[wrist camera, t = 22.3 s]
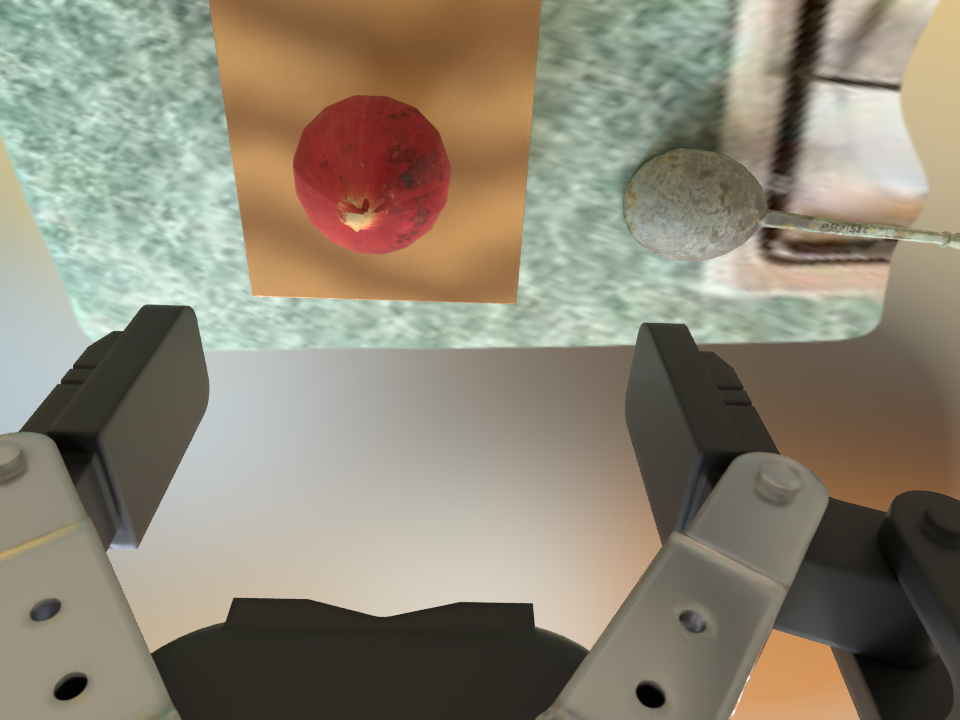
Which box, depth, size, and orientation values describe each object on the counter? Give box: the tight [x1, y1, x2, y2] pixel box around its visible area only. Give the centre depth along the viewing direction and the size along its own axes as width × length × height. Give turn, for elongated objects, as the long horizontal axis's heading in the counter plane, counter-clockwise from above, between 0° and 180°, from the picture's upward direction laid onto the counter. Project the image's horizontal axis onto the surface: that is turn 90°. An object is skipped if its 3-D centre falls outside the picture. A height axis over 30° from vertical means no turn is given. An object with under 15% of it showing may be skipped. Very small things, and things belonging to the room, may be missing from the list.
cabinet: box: [209, 0, 542, 304], centre depth 34 cm, size 15×13×10 cm
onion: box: [293, 95, 451, 255], centre depth 27 cm, size 6×6×8 cm
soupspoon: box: [624, 148, 960, 261], centre depth 41 cm, size 22×3×7 cm
